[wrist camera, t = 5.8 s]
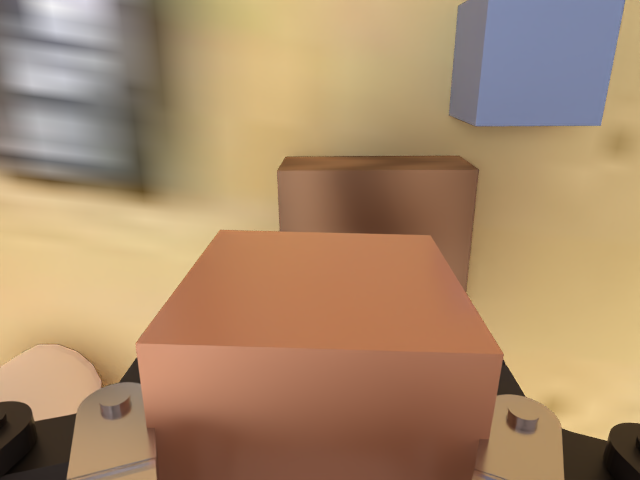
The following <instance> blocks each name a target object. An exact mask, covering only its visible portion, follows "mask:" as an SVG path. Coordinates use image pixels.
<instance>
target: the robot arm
mask: <svg viewBox="0 0 640 480" xmlns="http://www.w3.org/2000/svg"><path fill="white" fill-rule="evenodd" d="M0 480H160V479H159V466H158V453H157V444H156V436H155V428H147V427H146V420H145V412H144V404H143V397H142V389H141V382H140V374H139V367H138V359H137V358H136V359H135V361H134V362H133V364H132V365H131V366H130V368H129V369H128V371H127V372H126V374H125V375H124V376H123V378H122V379H121V381H120V382H119V383H116V384H112V385H108V386H105V387H103V388H101V389H98V390H96V391H95V392H93V393H91V394H90V395H89V396H87V397H86V398H85V399H84V400H83V401H82V402H81V404H80V405H79V407H78V410H77V413H75V414H71V415H66V416H61V417H55V418H50V419H44V420H39V421H34V417H33V413H32V410H31V408H30V407H29V406H28V405H27V404H25V403H22V402H18V401H5V402H0ZM472 480H640V424H638V423H622V424H618V425H616V426H614V427H613V428H612V429H611V431H610V433H609V437H608V441H605V440H601V439H597V438H593V437H589V436H585V435H581V434H577V433H574V432H570V431H567V430H565V429H562V428H561V423H560V421H559V419H558V418H557V416H556V415H555V414H554V413H553V412H552V411H551V410H550V409H548V408H547V407H546V406H544V405H543V404H541V403H539V402H537V401H535V400H532V399H530V398H527V397H525V395H524V393H523V392H522V390H521V388H520V387H519V385H518V383H517V382H516V380H515V378H514V377H513V375H512V373H511V372H510V370H509V368H508V367H507V365H505V362H504V360H503V362H502V367H501V373H500V379H499V385H498V391H497V397H496V402H495V408H494V414H493V420H492V426H491V432H490V437H489V439H480V440H479V446H478V451H477V457H476V463H475V468H474V472H473V477H472Z"/></svg>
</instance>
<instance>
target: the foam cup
mask: <svg viewBox="0 0 640 480" xmlns="http://www.w3.org/2000/svg"><path fill="white" fill-rule="evenodd" d="M98 389H101V380H100V378H99V376H98V374H97V372H96V370H95V368H94V366H93V364H91V363H90V362H89V361H88V360H87V359H86V358H84V357H83V356H82V355H81V354H80V353H79V352H77V351H75V350H72V349H69V348H67V347H64V346H61V345H59V344H38V345H36V346H34V347H32V348H30V349H28V350H26V351H24V352H22V353H21V354H20V355H18V356H16V357H14V358H12V359H11V360H9V361H8V362H6V363H5V364H3V365H2V366H0V402H5V401H18V402H22V403H25V404H27V405H28V406H29V407H30V408H31V410H32V413H33V417H34V421H39V420H44V419H50V418H55V417H61V416H66V415H71V414H75V413H77V410H78V407H79V405H80V404H81V402H82V401H83V400H84V399H85V398H86V397H87V396H89V395H90V394H91V393H93V392H95V391H96V390H98Z"/></svg>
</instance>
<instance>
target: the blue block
mask: <svg viewBox="0 0 640 480" xmlns="http://www.w3.org/2000/svg"><path fill="white" fill-rule="evenodd" d="M624 4H625V0H468V1H466V2H464V3H462V4H460V5H459V6H458V13H457V25H456V37H455V49H454V61H453V73H452V85H451V97H450V108H449V115H450V116H452V117H454V118H457V119H459V120H462V121H464V122H466V123H469V124H471V125H474V126H601V122H602V117H603V111H604V106H605V101H606V96H607V91H608V86H609V81H610V75H611V70H612V65H613V60H614V55H615V50H616V45H617V39H618V34H619V29H620V24H621V19H622V14H623V9H624Z"/></svg>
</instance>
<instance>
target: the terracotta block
mask: <svg viewBox="0 0 640 480" xmlns="http://www.w3.org/2000/svg"><path fill="white" fill-rule="evenodd" d="M135 344H136V352H137V359H138V367H139V374H140V382H141V389H142V397H143V404H144V412H145V420H146V427H147V428H155V436H156V444H157V453H158V466H159V479H160V480H472V477H473V472H474V468H475V463H476V457H477V451H478V446H479V440H480V439H489V437H490V432H491V426H492V420H493V414H494V408H495V402H496V397H497V391H498V385H499V379H500V373H501V367H502V362H503V356H504V354H503V352H502V351H501V349H500V347H499V346H498V344H497V343H496V341H495V339H494V338H493V336H492V334H491V333H490V331H489V330H488V328H487V326H486V325H485V323H484V321H483V320H482V318H481V317H480V315H479V313H478V312H477V310H476V308H475V307H474V305H473V304H472V302H471V300H470V299H469V297H468V295H467V294H466V292H465V291H464V289H463V287H462V286H461V284H460V282H459V281H458V279H457V278H456V276H455V274H454V273H453V271H452V269H451V268H450V266H449V265H448V263H447V261H446V260H445V258H444V256H443V255H442V253H441V252H440V250H439V248H438V247H437V245H436V243H435V242H434V240H433V239H432V237H431V235H401V234H360V233H320V232H279V231H238V230H220V231H219V232H218V233H217V235H216V236H215V237H214V239H213V240H212V241H211V243H210V244H209V245H208V247H207V248H206V249H205V251H204V252H203V253H202V255H201V256H200V257H199V259H198V260H197V262H196V263H195V264H194V266H193V267H192V268H191V270H190V271H189V272H188V274H187V275H186V276H185V278H184V279H183V280H182V282H181V283H180V284H179V286H178V287H177V288H176V290H175V291H174V292H173V294H172V295H171V296H170V298H169V299H168V300H167V302H166V303H165V304H164V306H163V307H162V308H161V310H160V311H159V312H158V314H157V315H156V316H155V318H154V319H153V321H152V322H151V323H150V325H149V326H148V327H147V329H146V330H145V331H144V333H143V334H142V335H141V337H140V338H139V339H138V341H137V342H136V343H135Z"/></svg>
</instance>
